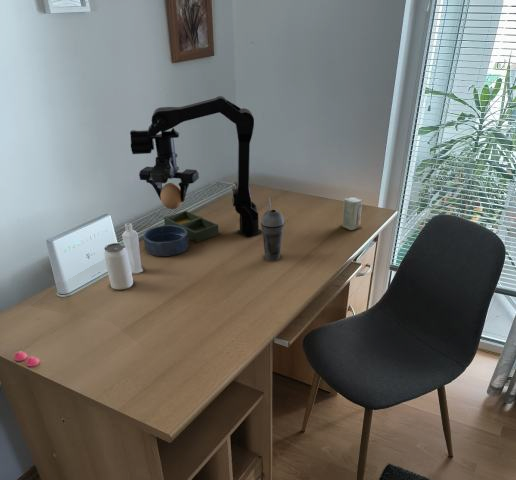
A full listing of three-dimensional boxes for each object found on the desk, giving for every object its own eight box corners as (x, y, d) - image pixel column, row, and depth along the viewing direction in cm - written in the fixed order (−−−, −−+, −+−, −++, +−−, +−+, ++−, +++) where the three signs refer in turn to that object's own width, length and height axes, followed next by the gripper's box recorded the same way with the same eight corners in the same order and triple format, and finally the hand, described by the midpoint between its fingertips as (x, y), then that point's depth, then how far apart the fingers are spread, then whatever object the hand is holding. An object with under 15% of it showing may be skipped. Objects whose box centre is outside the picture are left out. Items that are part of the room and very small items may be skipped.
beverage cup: (284, 262, 156) (285, 200, 144) (261, 262, 156) (260, 200, 144) (283, 252, 162) (284, 191, 150) (261, 252, 162) (260, 192, 150)
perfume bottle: (147, 268, 154) (139, 222, 145) (138, 274, 151) (130, 228, 142) (135, 266, 156) (126, 220, 147) (126, 272, 152) (117, 225, 144)
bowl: (197, 247, 166) (195, 233, 163) (161, 261, 158) (159, 246, 155) (172, 235, 174) (170, 221, 171) (137, 247, 166) (135, 233, 164)
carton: (218, 234, 174) (218, 224, 172) (196, 242, 169) (195, 232, 167) (186, 219, 186) (186, 210, 184) (165, 226, 181) (163, 217, 178)
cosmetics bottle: (360, 227, 177) (363, 200, 171) (351, 230, 175) (353, 202, 169) (350, 223, 180) (352, 196, 175) (341, 226, 179) (343, 198, 173)
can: (137, 281, 147) (130, 244, 140) (126, 291, 142) (118, 253, 135) (118, 278, 149) (111, 241, 142) (106, 288, 144) (98, 250, 137)
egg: (174, 214, 163) (171, 188, 158) (157, 210, 166) (153, 184, 161) (188, 206, 168) (185, 181, 163) (171, 203, 171) (168, 178, 166)
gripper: (127, 157, 153) (135, 207, 162) (183, 161, 148) (188, 211, 157) (143, 148, 161) (151, 195, 170) (197, 151, 157) (201, 199, 166)
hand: (172, 200), depth 166 cm, fingers closed on egg, 7 cm apart
